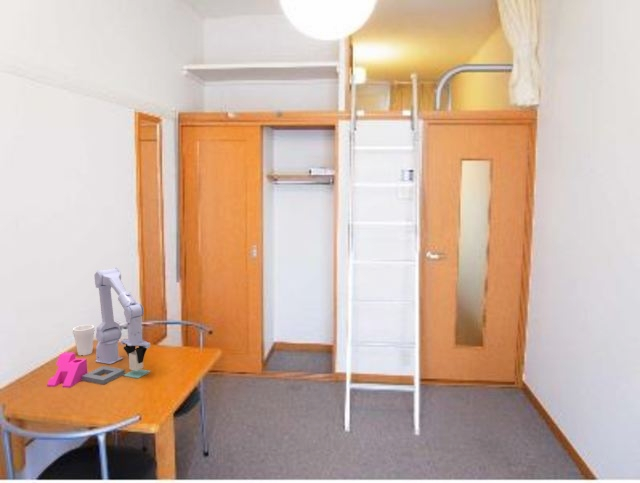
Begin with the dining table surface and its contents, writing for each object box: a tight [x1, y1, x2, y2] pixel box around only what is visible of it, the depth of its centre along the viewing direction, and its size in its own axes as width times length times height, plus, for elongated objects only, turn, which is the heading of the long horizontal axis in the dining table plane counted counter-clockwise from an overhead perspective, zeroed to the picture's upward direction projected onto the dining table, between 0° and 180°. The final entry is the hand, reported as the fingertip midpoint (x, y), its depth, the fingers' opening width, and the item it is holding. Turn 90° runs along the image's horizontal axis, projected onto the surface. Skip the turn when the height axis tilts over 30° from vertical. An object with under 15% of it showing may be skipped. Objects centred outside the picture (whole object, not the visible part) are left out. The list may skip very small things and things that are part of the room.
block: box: [128, 350, 144, 371], centre depth 209 cm, size 4×4×7 cm
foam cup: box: [72, 324, 95, 356], centre depth 235 cm, size 10×9×13 cm
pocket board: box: [81, 365, 126, 385], centre depth 207 cm, size 12×12×2 cm
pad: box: [122, 368, 152, 380], centre depth 210 cm, size 8×8×1 cm
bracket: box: [46, 352, 88, 389], centre depth 202 cm, size 12×10×10 cm
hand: (136, 361), depth 210 cm, fingers closed on block, 4 cm apart
